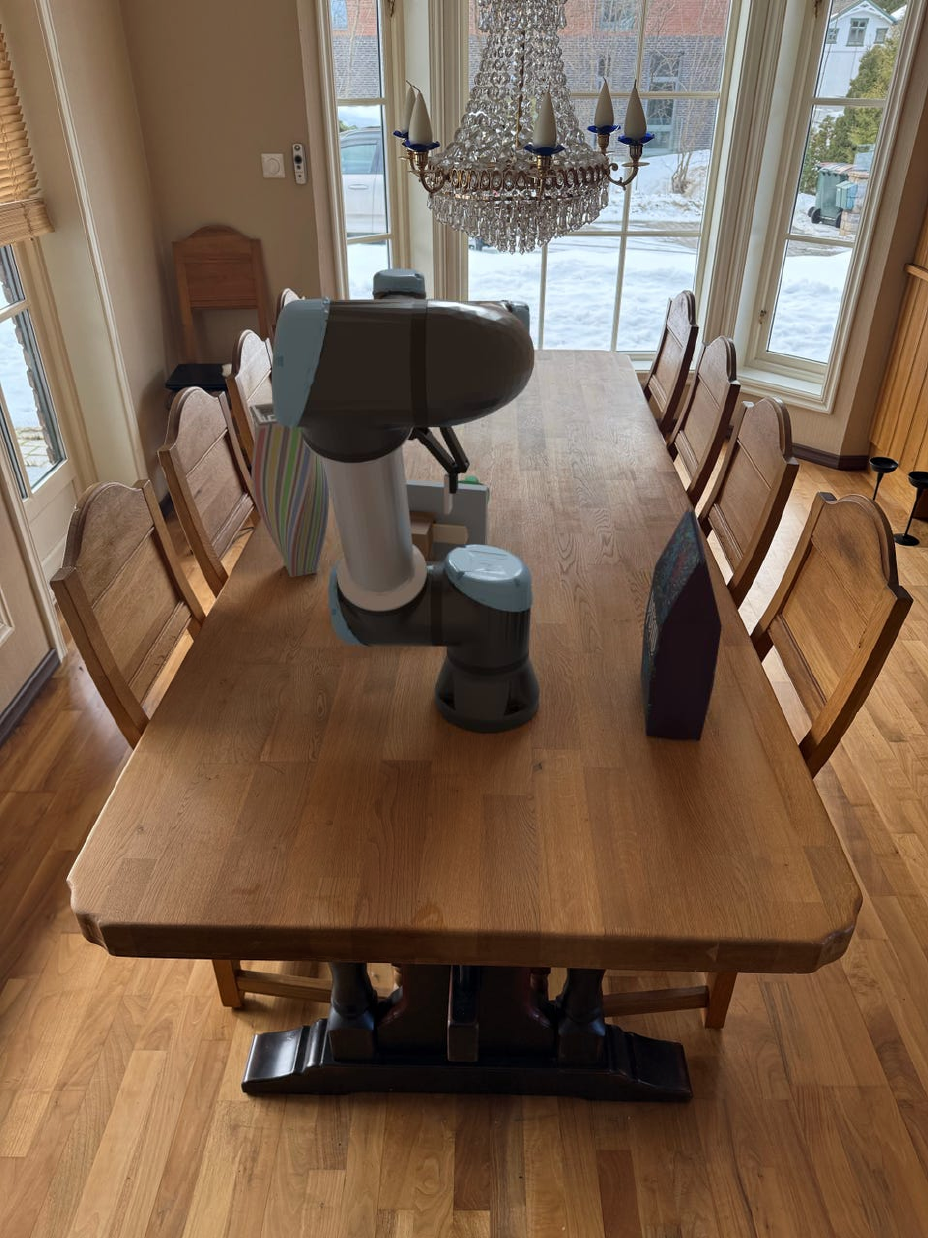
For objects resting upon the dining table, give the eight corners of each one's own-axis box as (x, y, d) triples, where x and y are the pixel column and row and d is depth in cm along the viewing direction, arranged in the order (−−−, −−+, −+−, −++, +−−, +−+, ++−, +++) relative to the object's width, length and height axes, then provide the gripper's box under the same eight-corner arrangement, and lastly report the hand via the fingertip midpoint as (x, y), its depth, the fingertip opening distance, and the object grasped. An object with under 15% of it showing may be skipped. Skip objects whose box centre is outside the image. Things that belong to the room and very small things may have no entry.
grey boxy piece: (482, 591, 153) (483, 497, 143) (350, 578, 157) (343, 486, 147) (492, 562, 162) (493, 471, 152) (367, 550, 166) (361, 461, 156)
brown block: (426, 588, 148) (424, 536, 142) (386, 584, 149) (382, 533, 143) (437, 561, 155) (436, 511, 149) (399, 558, 156) (396, 508, 150)
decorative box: (642, 739, 120) (668, 560, 105) (637, 669, 134) (659, 502, 118) (703, 743, 119) (738, 564, 104) (691, 673, 133) (720, 505, 118)
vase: (328, 546, 167) (313, 392, 151) (346, 579, 157) (332, 418, 141) (257, 558, 163) (234, 402, 147) (271, 593, 153) (247, 429, 136)
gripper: (488, 376, 133) (486, 504, 144) (331, 367, 137) (341, 492, 148) (479, 391, 127) (478, 523, 138) (315, 381, 131) (327, 511, 142)
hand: (407, 507), depth 143 cm, fingers open, 13 cm apart
